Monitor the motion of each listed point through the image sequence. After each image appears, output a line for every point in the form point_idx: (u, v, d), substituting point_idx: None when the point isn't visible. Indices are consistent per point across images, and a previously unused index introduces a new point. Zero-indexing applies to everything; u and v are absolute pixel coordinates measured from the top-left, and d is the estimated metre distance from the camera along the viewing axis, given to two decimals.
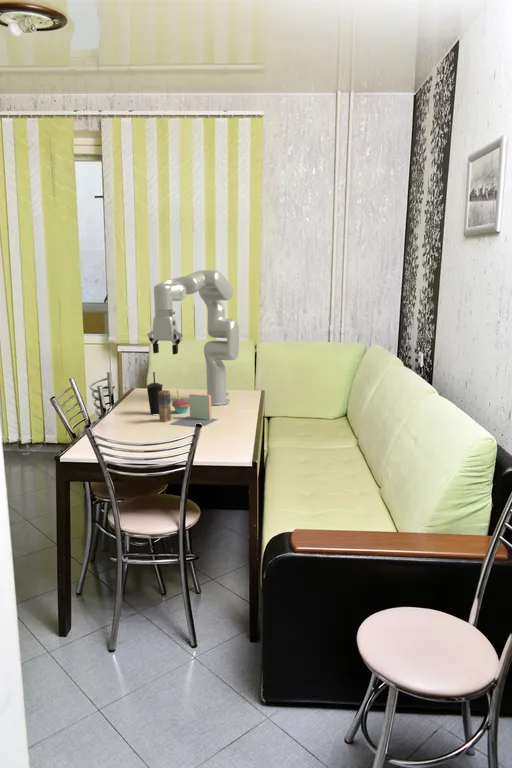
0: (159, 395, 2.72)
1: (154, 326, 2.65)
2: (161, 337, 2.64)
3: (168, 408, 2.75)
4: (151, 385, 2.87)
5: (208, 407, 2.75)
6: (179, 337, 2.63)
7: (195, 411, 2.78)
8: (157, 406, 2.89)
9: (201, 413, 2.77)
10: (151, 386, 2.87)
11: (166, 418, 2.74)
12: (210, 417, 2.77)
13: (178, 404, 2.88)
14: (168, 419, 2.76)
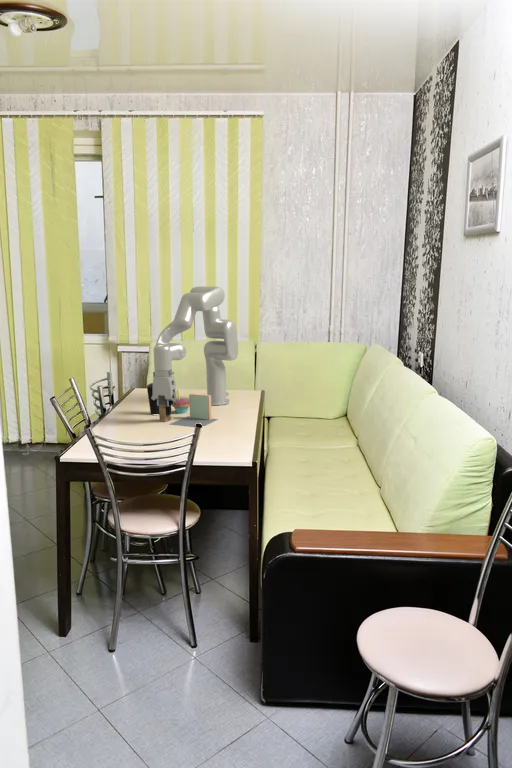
0: (159, 395, 2.72)
1: (154, 385, 2.73)
2: None
3: None
4: (151, 385, 2.87)
5: (208, 407, 2.75)
6: (173, 400, 2.72)
7: (195, 411, 2.78)
8: (157, 406, 2.89)
9: (201, 413, 2.77)
10: (151, 386, 2.87)
11: (166, 418, 2.74)
12: (210, 417, 2.77)
13: (178, 404, 2.88)
14: (168, 419, 2.76)
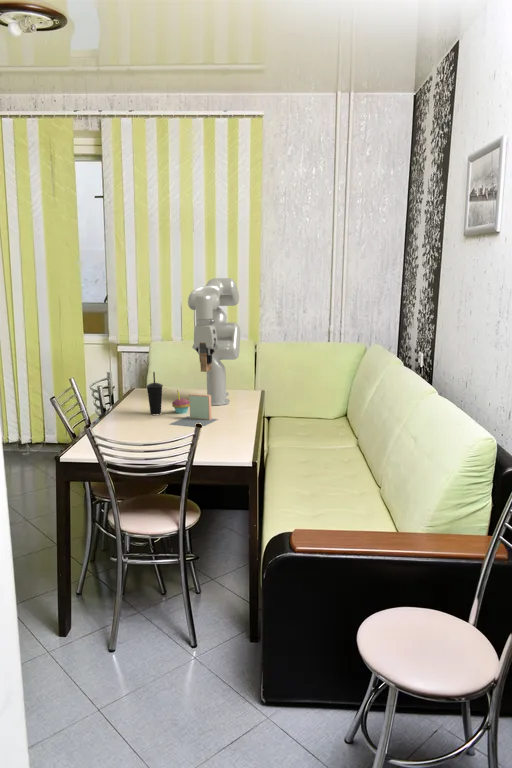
0: (201, 343, 2.78)
1: (195, 334, 2.78)
2: None
3: None
4: (151, 385, 2.87)
5: (208, 407, 2.75)
6: (214, 349, 2.77)
7: (195, 411, 2.78)
8: (157, 406, 2.89)
9: (201, 413, 2.77)
10: (151, 386, 2.87)
11: (207, 367, 2.80)
12: (210, 417, 2.77)
13: (178, 404, 2.88)
14: (209, 368, 2.81)
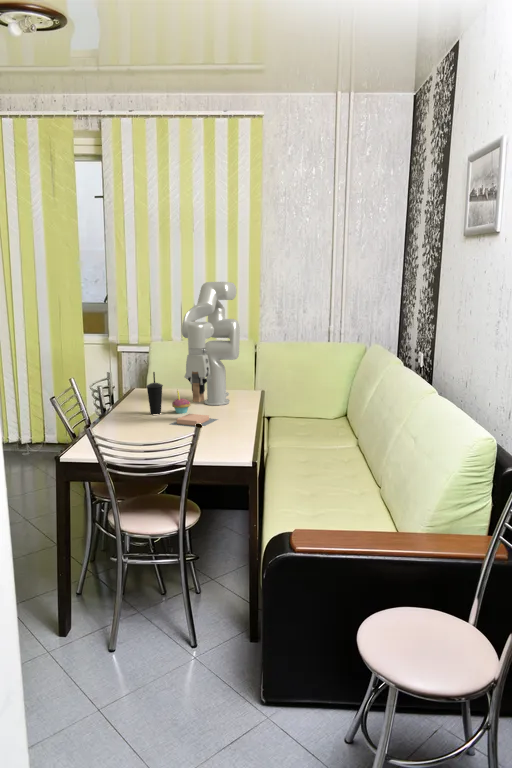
0: (193, 373, 2.72)
1: (187, 364, 2.73)
2: None
3: None
4: (151, 385, 2.87)
5: (202, 422, 2.71)
6: (207, 378, 2.72)
7: None
8: (157, 406, 2.89)
9: None
10: (151, 386, 2.87)
11: (199, 397, 2.74)
12: (208, 418, 2.75)
13: (178, 404, 2.88)
14: (201, 398, 2.75)
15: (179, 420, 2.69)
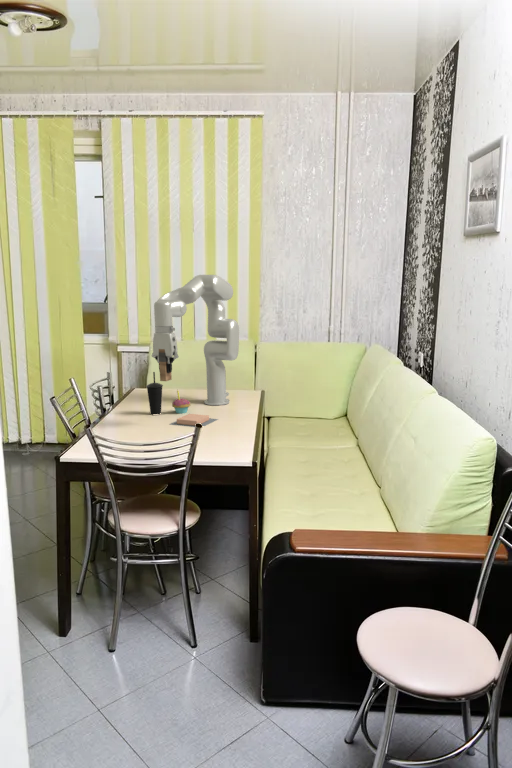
0: (160, 352, 2.67)
1: (154, 342, 2.67)
2: None
3: None
4: (151, 385, 2.87)
5: (202, 422, 2.71)
6: (174, 357, 2.66)
7: None
8: (157, 406, 2.89)
9: None
10: (151, 386, 2.87)
11: (167, 376, 2.69)
12: (208, 418, 2.75)
13: (178, 404, 2.88)
14: (169, 377, 2.70)
15: (179, 420, 2.69)
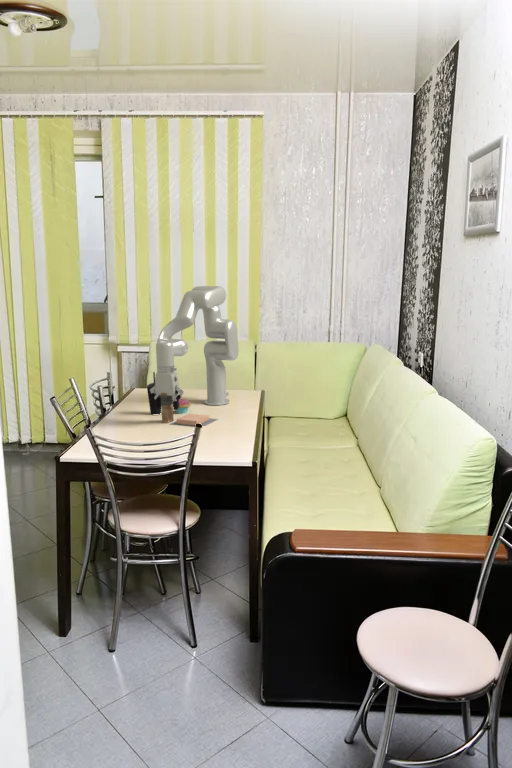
0: (162, 395, 2.71)
1: (156, 382, 2.71)
2: (163, 392, 2.70)
3: (171, 409, 2.73)
4: (151, 385, 2.87)
5: (202, 422, 2.71)
6: (180, 393, 2.69)
7: None
8: None
9: None
10: (151, 386, 2.87)
11: (169, 419, 2.73)
12: (208, 418, 2.75)
13: None
14: (171, 420, 2.74)
15: (179, 420, 2.69)
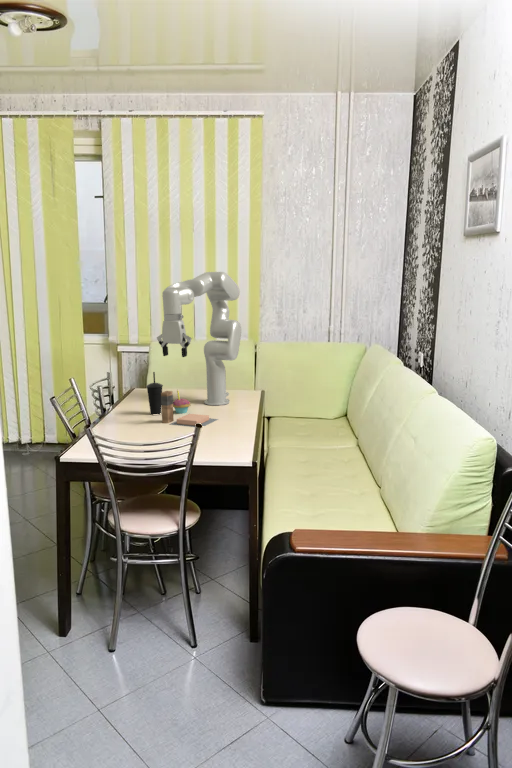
0: (162, 395, 2.71)
1: (163, 330, 2.73)
2: (170, 340, 2.72)
3: (171, 409, 2.73)
4: (151, 385, 2.87)
5: (202, 422, 2.71)
6: (188, 340, 2.70)
7: None
8: (157, 406, 2.89)
9: None
10: (151, 386, 2.87)
11: (169, 419, 2.73)
12: (208, 418, 2.75)
13: (178, 404, 2.88)
14: (171, 420, 2.74)
15: (179, 420, 2.69)
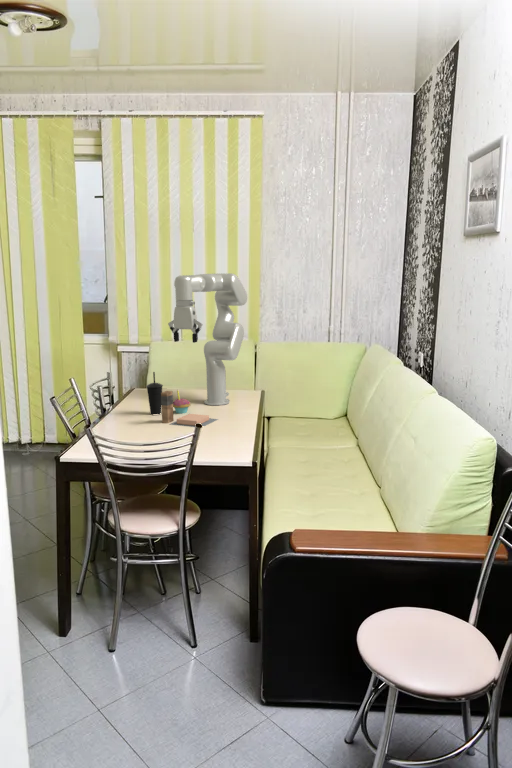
0: (162, 395, 2.71)
1: (175, 316, 2.79)
2: (182, 326, 2.79)
3: (171, 409, 2.73)
4: (151, 385, 2.87)
5: (202, 422, 2.71)
6: (199, 326, 2.77)
7: None
8: (157, 406, 2.89)
9: None
10: (151, 386, 2.87)
11: (169, 419, 2.73)
12: (208, 418, 2.75)
13: (178, 404, 2.88)
14: (171, 420, 2.74)
15: (179, 420, 2.69)
